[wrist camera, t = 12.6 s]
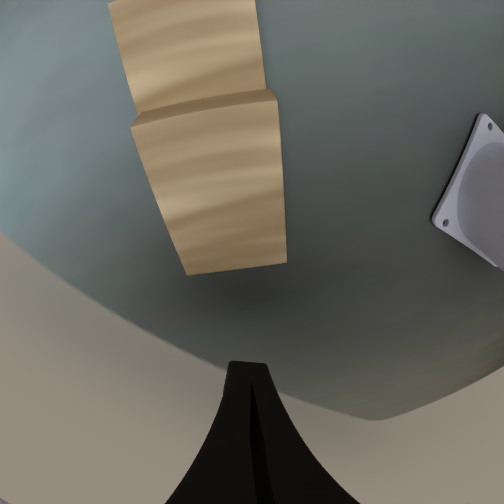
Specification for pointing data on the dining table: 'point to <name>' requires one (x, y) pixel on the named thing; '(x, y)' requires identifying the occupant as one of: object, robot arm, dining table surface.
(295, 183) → the dining table surface
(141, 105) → the domino
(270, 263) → the domino
